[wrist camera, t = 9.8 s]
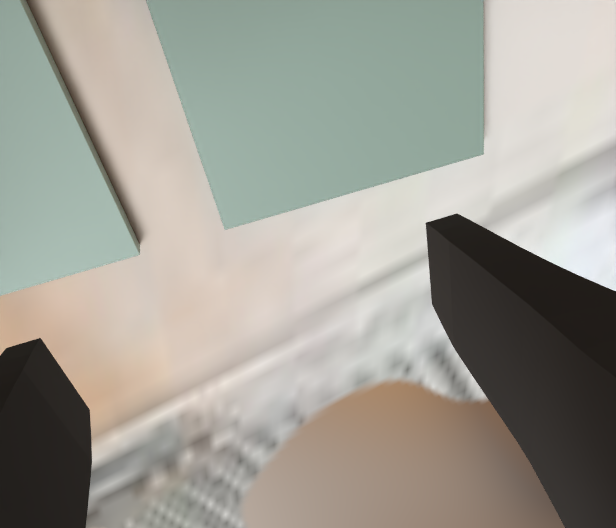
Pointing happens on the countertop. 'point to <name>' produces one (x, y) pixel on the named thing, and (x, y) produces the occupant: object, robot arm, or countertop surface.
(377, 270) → the countertop surface
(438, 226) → the robot arm
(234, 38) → the pair of green tiles
